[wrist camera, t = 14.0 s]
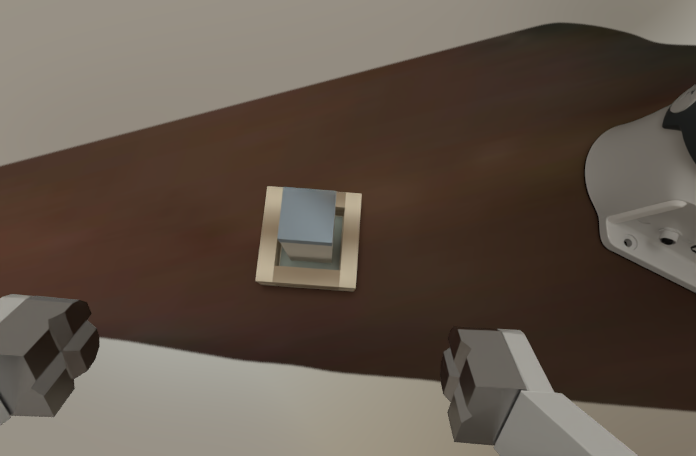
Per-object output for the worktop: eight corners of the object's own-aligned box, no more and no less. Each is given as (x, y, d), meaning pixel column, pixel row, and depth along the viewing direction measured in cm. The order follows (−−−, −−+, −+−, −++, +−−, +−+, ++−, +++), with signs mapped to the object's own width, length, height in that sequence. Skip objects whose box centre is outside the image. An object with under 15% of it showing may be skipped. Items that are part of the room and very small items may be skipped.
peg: (331, 263, 38) (332, 242, 29) (290, 260, 38) (277, 238, 28) (334, 224, 39) (336, 191, 30) (294, 221, 39) (283, 186, 29)
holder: (353, 291, 38) (355, 288, 35) (261, 284, 38) (255, 280, 35) (359, 204, 40) (361, 193, 37) (272, 197, 40) (267, 186, 37)
